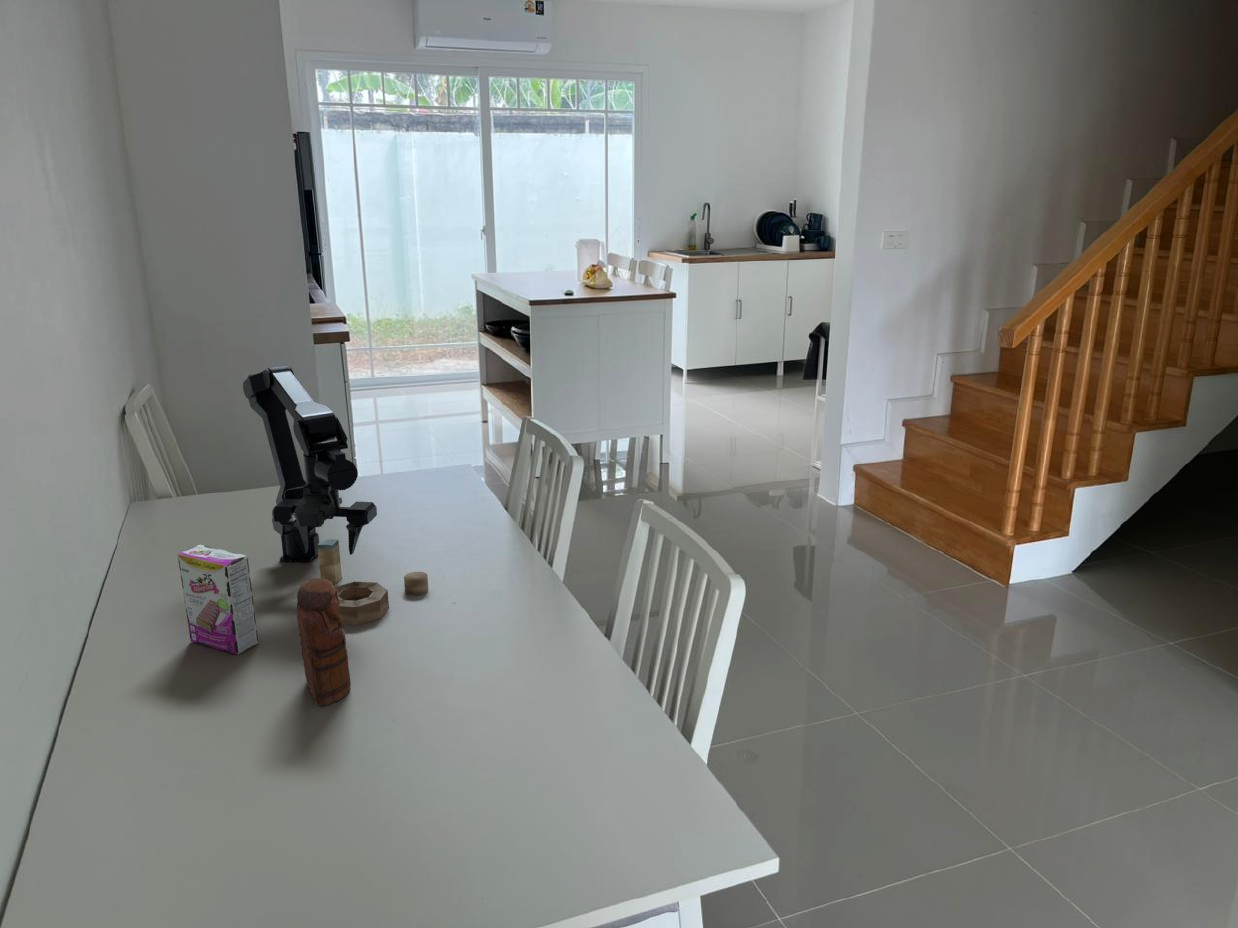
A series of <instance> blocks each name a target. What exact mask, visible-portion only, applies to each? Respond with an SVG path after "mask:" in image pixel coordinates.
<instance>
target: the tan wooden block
mask: <svg viewBox="0 0 1238 928" xmlns="http://www.w3.org/2000/svg"><path fill="white" fill-rule="evenodd" d="M317 546H318V554H317V557H318V563H319V564H318V565H319V574H320V575H319V577H320V578H323V579H327V580H329V581H330V582H332V584H333V585H336V584H337V583H338V582H339V581H340V580H341V579H342V578H343V574H342V564H341V563H342V562H341V555H340V554H341V553H340V541H339V539H336V538H334V539H333V538H323V539H322V540H321V541H319V544H318V545H317Z"/></svg>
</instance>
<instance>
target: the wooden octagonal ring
mask: <svg viewBox="0 0 1238 928" xmlns="http://www.w3.org/2000/svg"><path fill="white" fill-rule="evenodd" d="M334 587H335V589H336V590H337V595H338V599H339V606H340V608H341V612H340V616H341V620H342V625H347V626H348V625H350V626H351V625H352V626H354V625H355V626H360V625H363V624H366V623H369V622H372V621H376V620H378V619H381V618H383V616H384V615H385V613H387V611H388V610H389V608H390V602H389V591H388V589H387V588H385V586H383V585H382V584H380V583H379V582H377V581H375V582H373V581H351V582H348V583H344V584H340V585H337V586H334Z"/></svg>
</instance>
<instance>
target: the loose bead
mask: <svg viewBox="0 0 1238 928" xmlns="http://www.w3.org/2000/svg"><path fill="white" fill-rule="evenodd" d="M403 580H404V581H403V582H404V583H403V584H404V593H405V594H406V595H409V596H420V595H421V596H422V595H424V594H426V593H427V592H428V591H429V578H428V573H426V572H424V571H411V572H409V573H405V574H404V576H403Z"/></svg>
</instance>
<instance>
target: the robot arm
mask: <svg viewBox="0 0 1238 928" xmlns="http://www.w3.org/2000/svg"><path fill="white" fill-rule="evenodd" d="M242 389H243V395H244V396H245V398H246V399H247V400H248V403H249V406H250V408H251V409H252V411H254V412H255V413H256V414H257V415H258V416H259V417H260V418H261V419H262V422H263V426H264V430H265V434H266V436H267V441H268V446H269V449H270V451H271V456H272V459H273V463H274V467H275V471H276V475H277V477H278V478H277V479H278V482H279V485H280V486H279V490H278V493H277V496H276V498H275V503H276V504H275V506H274V507H273V508H272V511H271V517H272V519H271V522H272V526H273V530H274V531H275V532H277V533H278V534H279V535H280V540H281V550H282V555H281V556H280V557H279V561H280V562H296V563H297V562H298V563H300V562H301V563H305V562H306V563H309V562H311V561H312V560H314V559H315V557H317V556H318V546H317V545H318V544H319V543H320V537H319V533H318V532H317V530H316V528H321V527H323V525H324V523H325V521H327V520H333V519H334V518H335V517H337V518H345V519H346V521H347V525H345V528H346V530H347V532H348V533H347V534H348V537H347V539H348V552H349V553H348V554H349V556H352V555H353V554H354V553H355V551H356V546H357V543H358V540H359V537H360V535H361V531H362V529H363V528H364V527H365V526H366V525H369V524H370V523H371V522H372V521H373V520H374V519H375V518H376V517H377V516H378V509H377V505H376V504H375V503H374V502H373V501H355V502H353V503H352V504H351V505H350V506H341V504H342V503H343V498H342V497H340V493H339V491H345V490H348V489H349V488H351V487H352V486H353V485H354V484H355V483H356V481H357V479H358V475H359V474H358V469H357V467H356V465H355V463H354V462H352V461H351V460H349V459H348V458H346V457H347V456H346V453H345V452H344V451H341V450H346V449H349V446H348V437H347V434H346V432H345V430H344V428H343V425H342V424H341V421H340V420H339V418H338V416H337V415H336V414H335V413H334V411H332V410H331V409H330V408H329V407H328V406H326V405H325V404H323V403H318V402H315V400H313V398H312V397H311V396H310V394H309V393H308V392H307V390H306V389H305V388H304V386H303V385H302V384H301V383H300V381H299V380H298V378H297V377H296V376H295V374H294V370H293V368H292V367H291V366H288V365H282V366H281V365H280V366H273V367H267V369H263V370H262V371H261V372H257V373H255V374H254V373H253V374H248V375H247V377H246V379H245V380H244V381H243V383H242ZM286 411H287V412H288V413H289V414H290V416H291V417H292V419H293V425H292V426H293V427H292V430H293V434H294V437H295V438H296V440H297V442H298V445H299V446H300V450H301V451H302V452H303V454H302V455H303V463H304V474H305V475H303V473H302V469H301V465H300V461H299V458H298V457H299V456H298V454H297V450H296V446H295V441H294V438H293V434H292V431H291V428H290V423H289V420H288V415H287V412H286ZM335 439H336V440H335ZM304 476H305V479H304Z"/></svg>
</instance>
